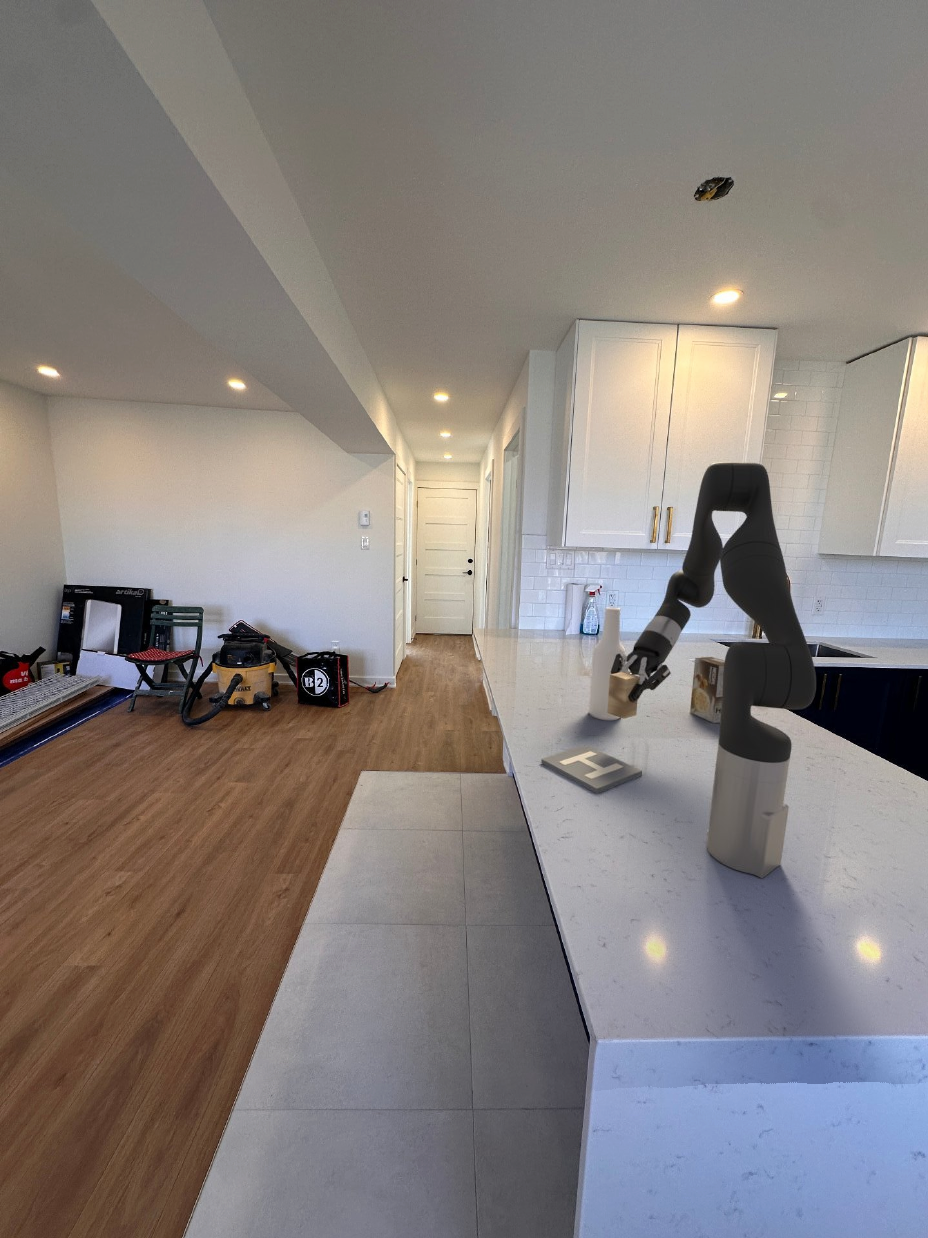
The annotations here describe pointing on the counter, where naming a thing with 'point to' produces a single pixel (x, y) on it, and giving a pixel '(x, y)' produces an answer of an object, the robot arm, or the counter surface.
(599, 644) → the alcohol
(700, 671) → the coffee box
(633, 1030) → the counter surface
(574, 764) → the letter board
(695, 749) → the counter surface
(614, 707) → the oak block
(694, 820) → the counter surface
